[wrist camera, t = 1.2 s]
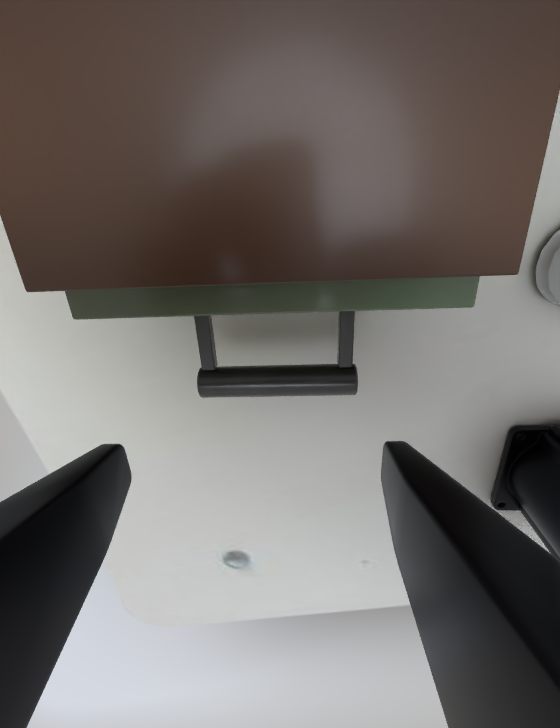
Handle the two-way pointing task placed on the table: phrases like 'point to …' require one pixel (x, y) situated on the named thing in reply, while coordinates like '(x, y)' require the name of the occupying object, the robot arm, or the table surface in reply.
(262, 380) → the drawer
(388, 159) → the cabinet
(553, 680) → the robot arm
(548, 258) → the rook chess piece
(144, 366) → the table surface
